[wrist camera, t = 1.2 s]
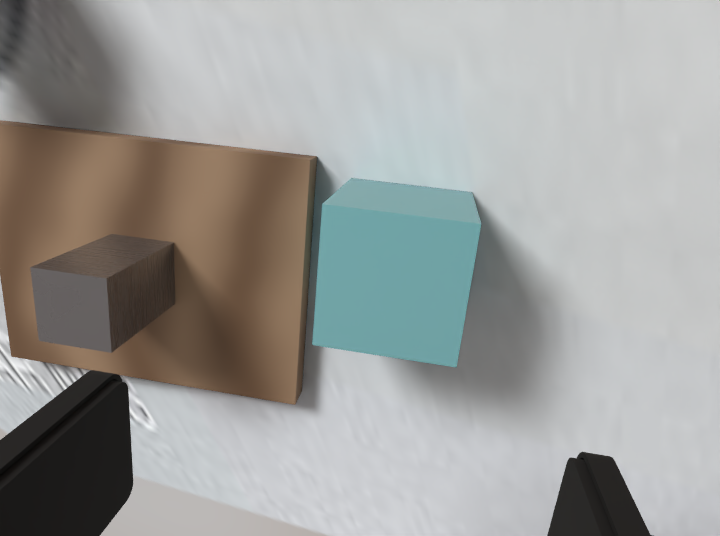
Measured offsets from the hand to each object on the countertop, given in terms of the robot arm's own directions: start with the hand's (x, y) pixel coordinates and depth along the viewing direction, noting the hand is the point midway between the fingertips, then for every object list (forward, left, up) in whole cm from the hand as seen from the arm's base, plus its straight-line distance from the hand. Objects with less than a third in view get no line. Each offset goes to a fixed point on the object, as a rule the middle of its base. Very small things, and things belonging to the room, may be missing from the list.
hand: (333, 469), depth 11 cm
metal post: (+14, +3, -17) cm, 22 cm away
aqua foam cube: (0, 0, -18) cm, 18 cm away
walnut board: (+14, +3, -18) cm, 23 cm away
